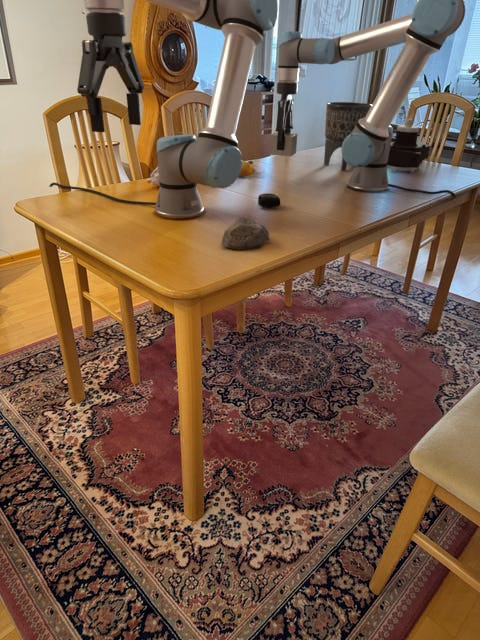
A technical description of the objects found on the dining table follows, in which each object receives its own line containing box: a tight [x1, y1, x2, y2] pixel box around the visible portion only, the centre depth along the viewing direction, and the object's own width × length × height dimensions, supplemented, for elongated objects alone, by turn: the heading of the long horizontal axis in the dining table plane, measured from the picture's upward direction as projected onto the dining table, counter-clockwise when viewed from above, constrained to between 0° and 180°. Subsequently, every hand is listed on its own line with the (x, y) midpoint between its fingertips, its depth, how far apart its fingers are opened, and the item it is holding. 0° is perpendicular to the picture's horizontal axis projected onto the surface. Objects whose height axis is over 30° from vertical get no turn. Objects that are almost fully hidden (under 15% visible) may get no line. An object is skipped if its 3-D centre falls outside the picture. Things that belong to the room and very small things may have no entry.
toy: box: [238, 160, 256, 178], centre depth 191 cm, size 11×6×15 cm
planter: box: [323, 101, 372, 172], centre depth 204 cm, size 20×20×26 cm
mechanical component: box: [386, 118, 432, 173], centre depth 206 cm, size 22×21×30 cm
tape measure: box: [257, 192, 281, 209], centre depth 151 cm, size 7×7×4 cm
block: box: [268, 131, 298, 157], centre depth 175 cm, size 7×9×7 cm
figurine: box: [145, 166, 159, 186], centre depth 170 cm, size 8×15×13 cm, turn 145°
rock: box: [221, 216, 270, 250], centre depth 119 cm, size 13×9×6 cm, turn 131°
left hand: (117, 128), depth 101 cm, fingers open, 13 cm apart
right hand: (283, 148), depth 176 cm, fingers closed on block, 7 cm apart
